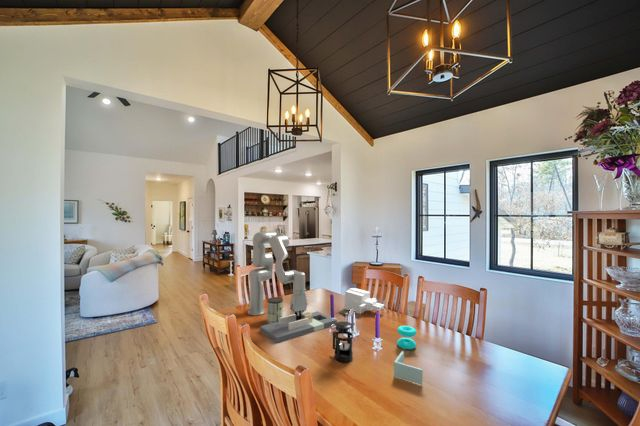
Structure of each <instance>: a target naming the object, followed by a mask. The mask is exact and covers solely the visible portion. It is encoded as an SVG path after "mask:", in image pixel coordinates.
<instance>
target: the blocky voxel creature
mask: <svg viewBox="0 0 640 426" xmlns="http://www.w3.org/2000/svg"><path fill="white" fill-rule="evenodd" d="M344 292H345V294H344V305H343V310H347V311H349V310H350V309H352V308H354V310H355V312H354V313H356V314H359V313H360V314H359V315H362V314H363V313H364V311H365V310H366V311H374V310H377V311H382V310H383V309H385V304H382V303H380V302H378V299H377V297H372V298H371V291H368V290H365V289H360V288H357V287H351V288H348V290H345V291H344ZM366 311H365V312H366ZM361 313H362V314H361Z"/></svg>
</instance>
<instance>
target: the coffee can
mask: <svg viewBox="0 0 640 426" xmlns="http://www.w3.org/2000/svg"><path fill="white" fill-rule="evenodd" d="M283 302H284V300H283V298H282V297H278V296H276V297H269V298H267V310H266V313H267V316H266V317H267V319H266V322H267V323H268V324H271V323H275V322H279V320H280V318H281V317H283V311H284V310H283Z"/></svg>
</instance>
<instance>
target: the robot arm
mask: <svg viewBox="0 0 640 426" xmlns="http://www.w3.org/2000/svg"><path fill="white" fill-rule="evenodd" d="M252 244H253V249H252V261H251V262H252V263H251V264H252V266H253V267H255V268H254V269H251V270H250V271H249V273H248V280H249V306H248V307H249V309H248V310H247V314H248V315H250V316H261V315H264V314H265V313H266V309H265V308H264V296H265V295H264V288H265V287H264V286H263V285H264V284H263V283H262V282H264V281H269V280H270V279H271V278H272V277H273V269H274V272H275V275H276V278H277V279H278V281H279V282H280V283H281V284H282V285H283V284H284V285H285V284H290V283H292V284H293V285H292V294H291V297H290V304H289V305H290V306H289V310H291V312H290V313H291V315H293V314H295V315H296V321H298V320H301V315H302V313H304V312H307V307H308V303H307V302H308V301H307V294H306V292H307V289H306V274H305V272H303V271H298V270H297V269H296V270H295V269H291V270H290V269H289V270H285V269H284V267H283V262H284V260H286V259H287V258H288V256H289V253H288V250H287V249H286V248H287V247H288V246H289V245H290V239H289V238H288V236H287V235H285V234H282V233H281V232H278V231H275V230H274V231H273V230H271V231H270V230H269V231H259V232H256V233H255V234H254V235H253V236H252ZM265 244H269V246H270V248H271V250H272V253H273V255H274V256H273V255H272V254H271V253H270V252H266V246H265ZM274 257H275V264H274Z"/></svg>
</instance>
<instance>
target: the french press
mask: <svg viewBox="0 0 640 426" xmlns="http://www.w3.org/2000/svg"><path fill="white" fill-rule="evenodd" d="M339 314H340V315H342V316H343V321H337V323H336V324H335V325H334V326H335V331H333V332H332V350H334V357H333V360H335V361H336V362H337V363H339V364H349V362H350V363H351V362H353V359H354V357H353V339H354V334H353V333H352V332H350V331H348V330H349V329H353V328H354V327H353V326H354V324H353V323H352V322H349V321H345V317H346V316H347V315H349V312H348V311H341V312H340V313H339ZM340 334H341V335H342V334H343V337H339V335H340ZM345 335H347V338H345Z"/></svg>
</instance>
